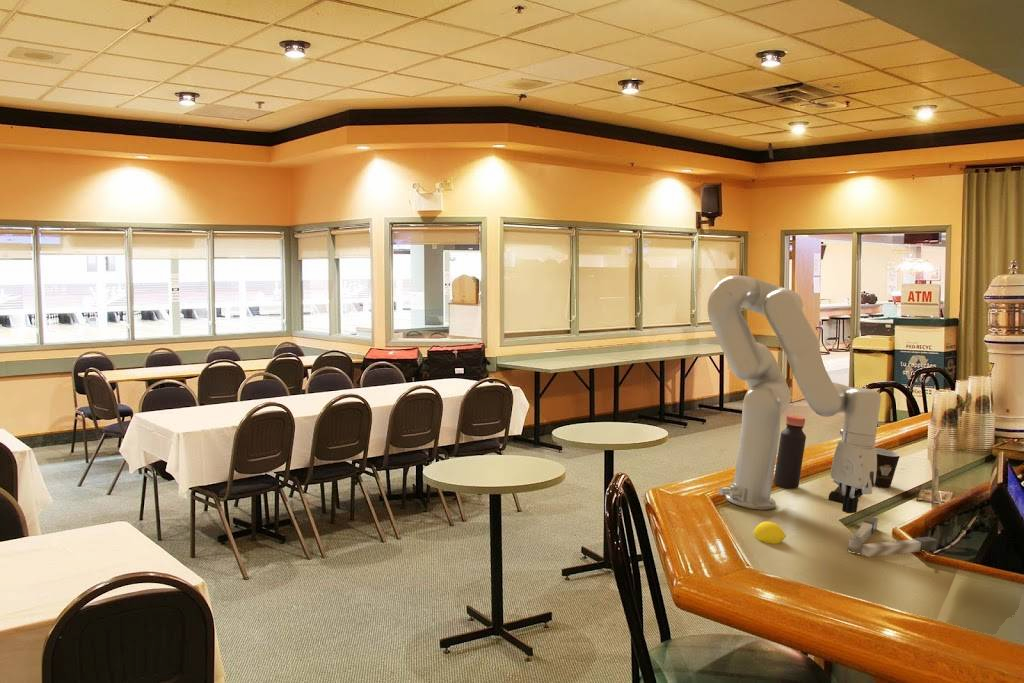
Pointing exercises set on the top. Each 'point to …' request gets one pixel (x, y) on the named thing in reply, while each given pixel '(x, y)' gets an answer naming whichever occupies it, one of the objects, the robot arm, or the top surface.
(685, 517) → the top surface
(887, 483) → the coffee mug
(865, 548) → the tongs board
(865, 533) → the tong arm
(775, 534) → the lemon
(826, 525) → the top surface
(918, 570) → the top surface
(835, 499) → the hand tool
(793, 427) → the bottle
